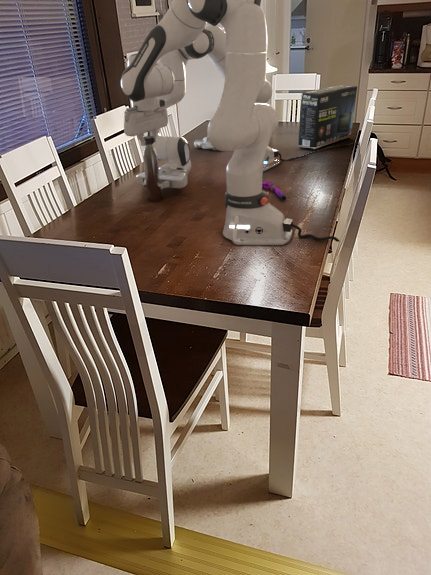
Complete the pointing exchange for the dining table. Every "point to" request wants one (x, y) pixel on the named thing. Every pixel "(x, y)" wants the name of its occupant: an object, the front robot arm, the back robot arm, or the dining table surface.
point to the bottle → (151, 173)
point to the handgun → (273, 189)
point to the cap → (149, 139)
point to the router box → (326, 115)
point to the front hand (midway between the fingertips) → (148, 143)
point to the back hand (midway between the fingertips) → (152, 186)
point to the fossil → (204, 144)
